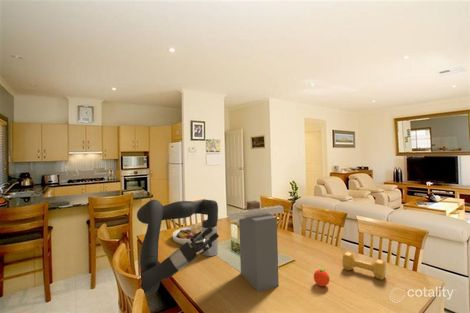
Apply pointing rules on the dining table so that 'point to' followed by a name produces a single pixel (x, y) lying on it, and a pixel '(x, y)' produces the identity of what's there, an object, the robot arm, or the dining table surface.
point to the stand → (259, 251)
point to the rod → (255, 212)
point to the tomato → (321, 277)
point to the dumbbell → (364, 265)
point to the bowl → (186, 234)
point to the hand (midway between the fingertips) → (214, 231)
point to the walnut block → (253, 205)
